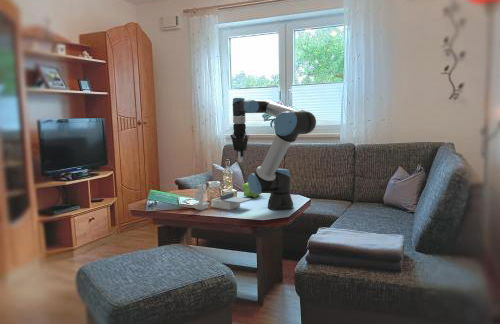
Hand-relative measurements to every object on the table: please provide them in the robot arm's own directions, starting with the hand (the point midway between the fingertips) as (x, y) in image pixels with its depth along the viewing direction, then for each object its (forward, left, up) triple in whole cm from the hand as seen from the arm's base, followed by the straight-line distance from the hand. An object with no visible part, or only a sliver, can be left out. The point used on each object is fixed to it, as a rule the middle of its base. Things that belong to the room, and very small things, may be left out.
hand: (240, 162), depth 224 cm
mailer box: (+3, +12, -26) cm, 29 cm away
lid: (-5, +12, -21) cm, 25 cm away
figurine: (+12, +23, -27) cm, 37 cm away
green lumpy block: (+7, -22, -27) cm, 35 cm away
